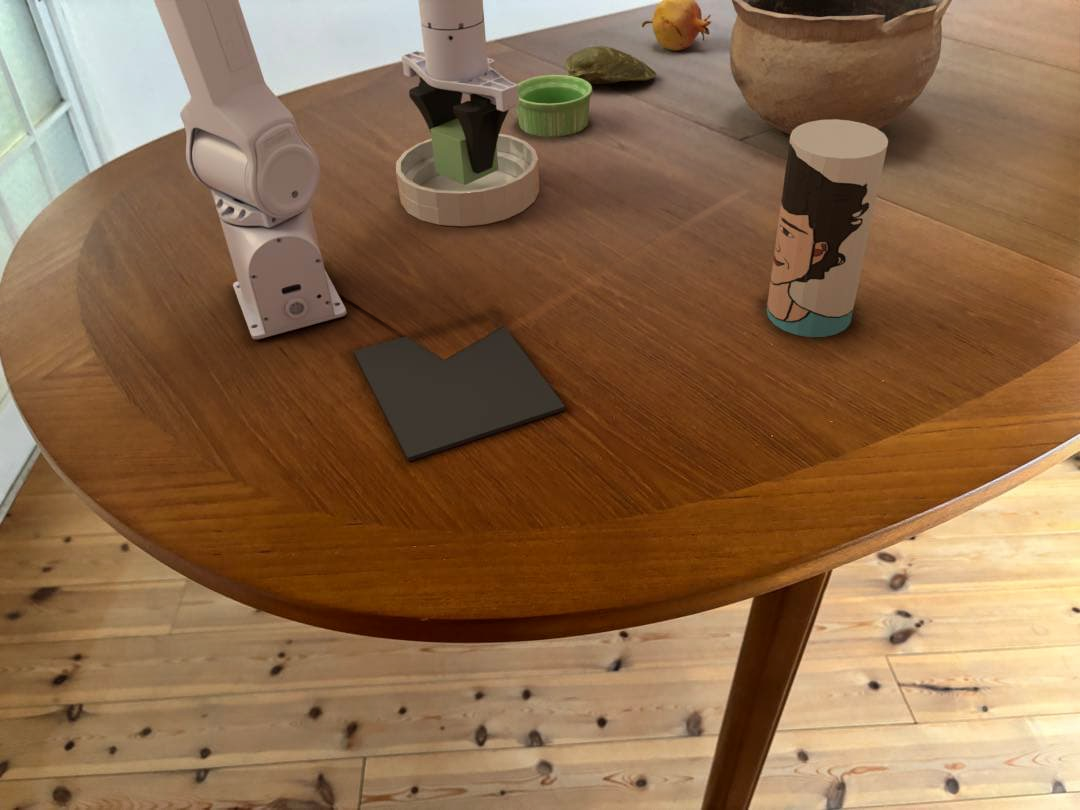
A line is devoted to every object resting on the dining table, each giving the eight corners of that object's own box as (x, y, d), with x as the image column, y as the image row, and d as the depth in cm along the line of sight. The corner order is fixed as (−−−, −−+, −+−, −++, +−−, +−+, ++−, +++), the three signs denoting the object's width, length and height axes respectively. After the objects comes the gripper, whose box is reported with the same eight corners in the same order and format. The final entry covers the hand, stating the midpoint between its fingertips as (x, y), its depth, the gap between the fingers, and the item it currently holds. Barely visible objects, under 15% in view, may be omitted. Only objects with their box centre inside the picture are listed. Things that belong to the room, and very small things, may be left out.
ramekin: (512, 114, 110) (510, 77, 107) (587, 108, 110) (586, 71, 107) (517, 145, 103) (515, 106, 100) (597, 138, 103) (597, 100, 100)
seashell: (670, 62, 116) (628, 16, 108) (649, 116, 115) (605, 73, 108) (608, 62, 122) (565, 18, 115) (588, 112, 122) (543, 72, 115)
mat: (565, 410, 67) (565, 406, 66) (408, 461, 63) (407, 457, 63) (493, 315, 77) (492, 311, 76) (354, 354, 73) (353, 350, 73)
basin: (561, 209, 90) (560, 172, 88) (427, 244, 86) (422, 205, 84) (507, 157, 100) (504, 121, 98) (384, 185, 96) (378, 149, 94)
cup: (797, 282, 78) (824, 112, 69) (867, 312, 75) (906, 136, 65) (749, 314, 75) (771, 140, 66) (820, 347, 71) (854, 167, 62)
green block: (498, 170, 91) (495, 126, 89) (464, 185, 89) (460, 141, 86) (469, 157, 94) (465, 114, 91) (435, 172, 92) (430, 128, 89)
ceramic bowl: (843, 188, 91) (871, 33, 82) (679, 128, 104) (687, -12, 95) (960, 122, 102) (997, -21, 93) (799, 75, 115) (816, -55, 106)
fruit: (629, 6, 121) (698, 15, 117) (653, -21, 124) (721, -13, 120) (635, 53, 127) (701, 63, 122) (658, 26, 130) (723, 35, 125)
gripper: (540, 25, 80) (546, 169, 89) (435, -5, 89) (450, 130, 97) (480, 46, 77) (492, 195, 85) (377, 13, 85) (397, 152, 93)
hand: (466, 162), depth 91 cm, fingers closed on green block, 4 cm apart
